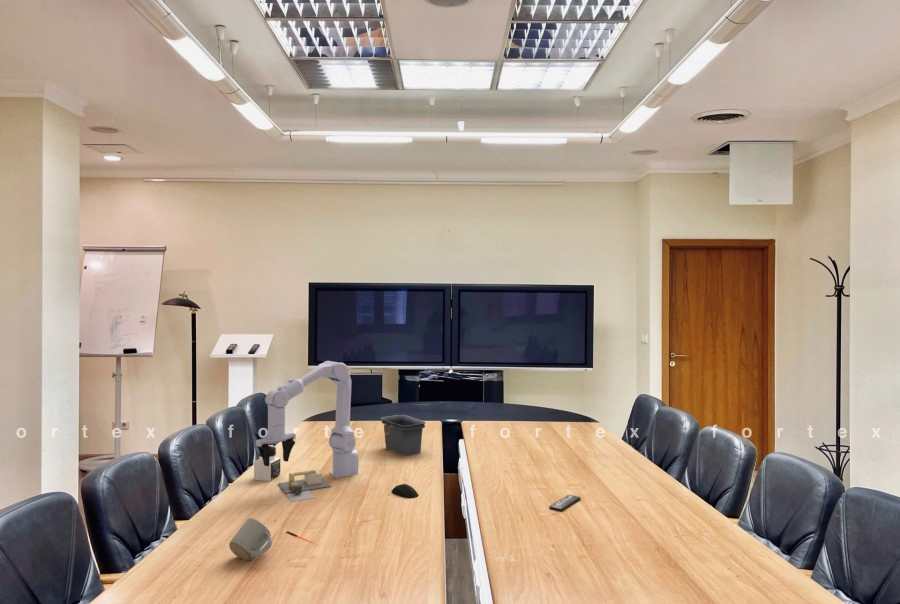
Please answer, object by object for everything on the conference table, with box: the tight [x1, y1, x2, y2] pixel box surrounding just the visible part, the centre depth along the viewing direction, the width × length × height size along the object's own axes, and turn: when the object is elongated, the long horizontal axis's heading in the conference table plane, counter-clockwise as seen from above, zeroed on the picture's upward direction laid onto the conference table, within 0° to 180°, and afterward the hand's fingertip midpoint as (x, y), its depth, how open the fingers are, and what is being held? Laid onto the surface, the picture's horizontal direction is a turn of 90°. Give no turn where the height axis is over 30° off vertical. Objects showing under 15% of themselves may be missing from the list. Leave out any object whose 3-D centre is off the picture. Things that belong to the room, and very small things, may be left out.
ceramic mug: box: [228, 517, 273, 562], centre depth 146 cm, size 11×8×8 cm
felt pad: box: [285, 490, 316, 503], centre depth 193 cm, size 8×8×1 cm
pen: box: [286, 530, 320, 547], centre depth 158 cm, size 1×19×1 cm, turn 51°
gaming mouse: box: [391, 483, 420, 500], centre depth 195 cm, size 6×15×4 cm, turn 41°
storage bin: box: [380, 414, 427, 457], centre depth 252 cm, size 21×16×14 cm
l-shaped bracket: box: [288, 469, 316, 494], centre depth 200 cm, size 10×11×4 cm
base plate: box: [277, 477, 332, 495], centre depth 204 cm, size 16×12×1 cm
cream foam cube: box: [303, 469, 323, 485], centre depth 207 cm, size 5×5×4 cm
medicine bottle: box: [253, 444, 281, 482], centre depth 214 cm, size 7×7×12 cm
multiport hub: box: [548, 494, 581, 513], centre depth 185 cm, size 4×14×2 cm, turn 142°
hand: (276, 463), depth 199 cm, fingers open, 7 cm apart
